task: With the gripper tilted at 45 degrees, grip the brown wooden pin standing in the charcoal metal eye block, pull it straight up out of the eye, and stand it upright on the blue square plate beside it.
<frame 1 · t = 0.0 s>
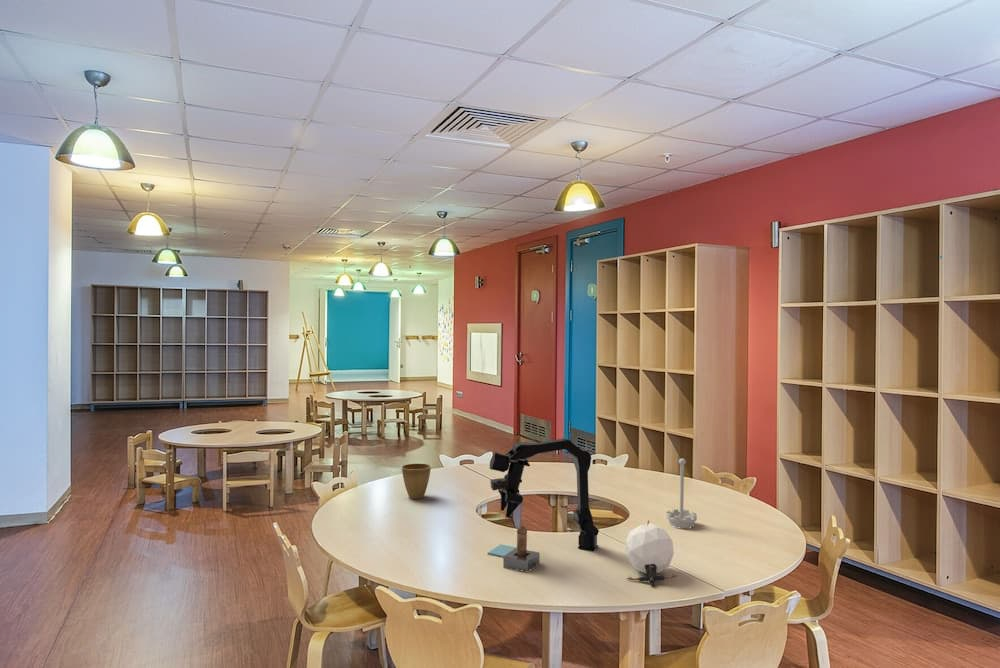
hand: (504, 513, 251), 15 cm above the table, tool pointing down, fingers open, 9 cm apart
white faceted globe lamp: (649, 575, 232), on the table
plant pot: (416, 497, 330), on the table
flag stand: (681, 525, 290), on the table
brown wooden pin: (521, 545, 239), in the eye block
eye block: (521, 565, 239), on the table
blue square plate: (506, 552, 252), on the table
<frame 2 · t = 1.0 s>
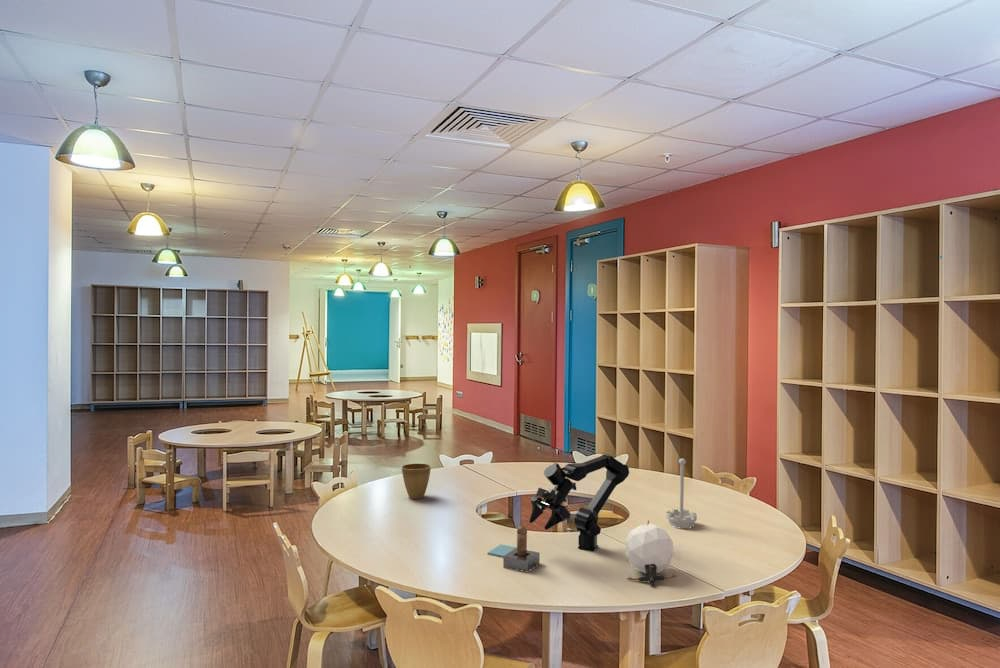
hand: (537, 525, 244), 13 cm above the table, tool tilted 45°, fingers open, 9 cm apart
nothing on the table moved.
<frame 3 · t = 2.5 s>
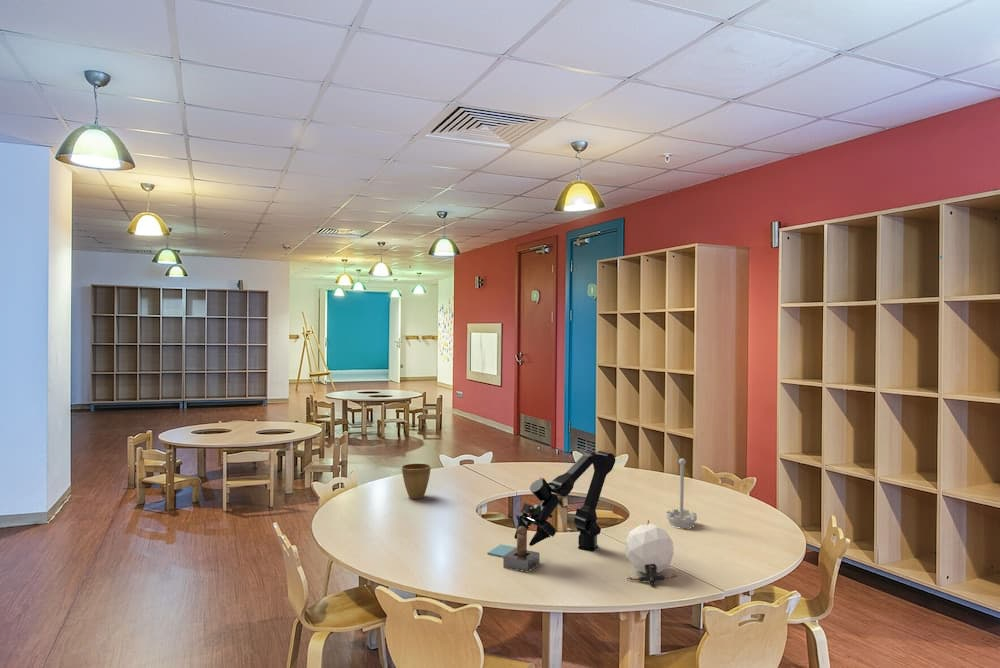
hand: (522, 541, 239), 9 cm above the table, tool tilted 45°, fingers open, 9 cm apart
nothing on the table moved.
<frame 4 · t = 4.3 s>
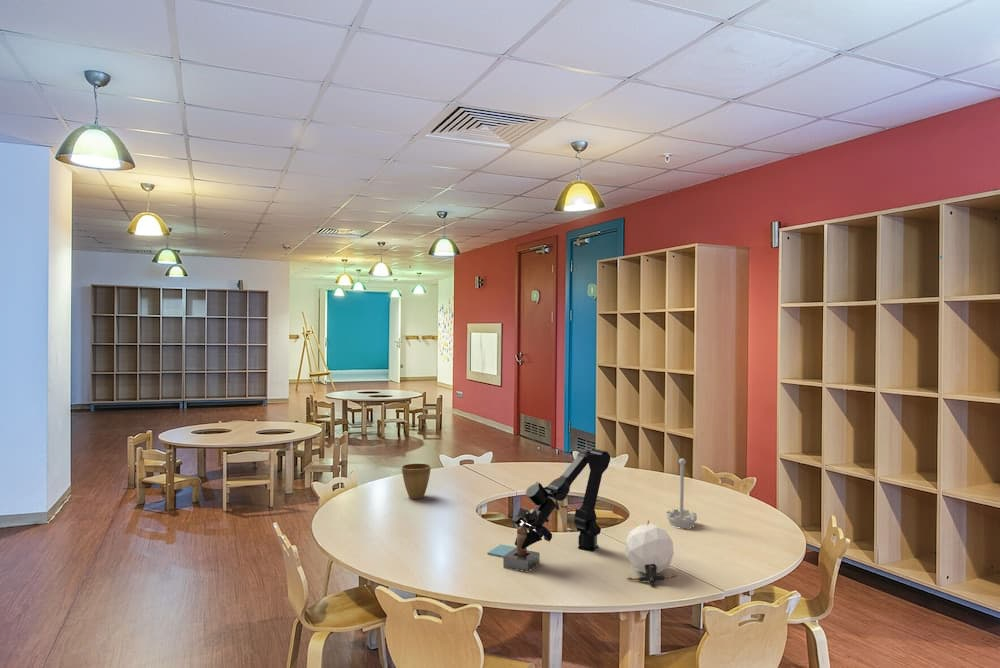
hand: (518, 546, 238), 7 cm above the table, tool tilted 45°, fingers closed on brown wooden pin, 4 cm apart
brown wooden pin: (521, 545, 239), in the eye block, touching gripper
everything else where it was.
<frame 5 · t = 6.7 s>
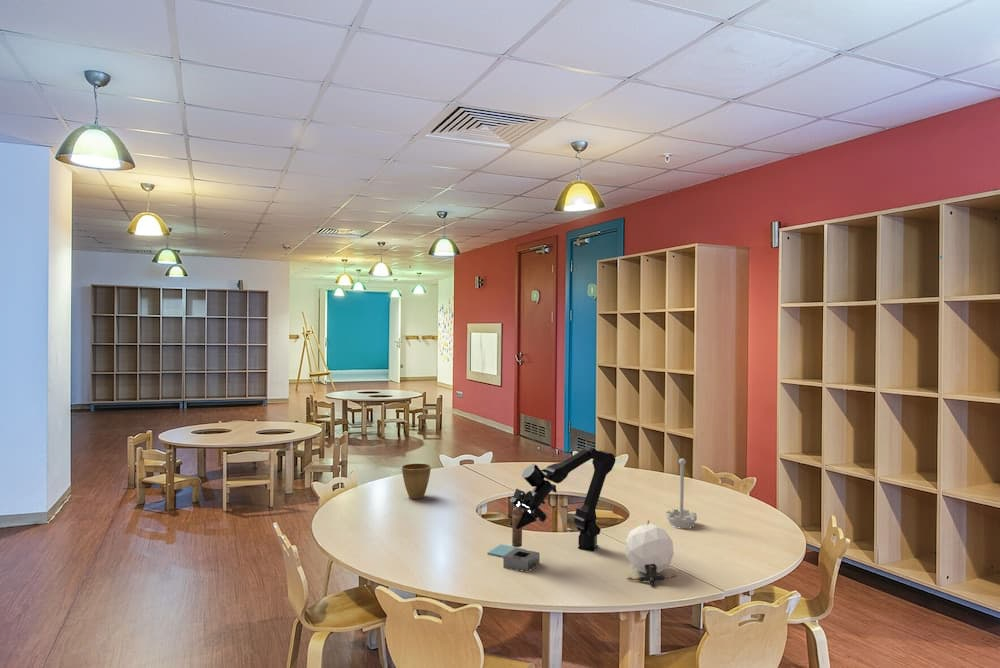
hand: (514, 527, 241), 13 cm above the table, tool tilted 45°, fingers closed on brown wooden pin, 4 cm apart
brown wooden pin: (517, 526, 242), point 14 cm above the table, touching gripper
everything else where it was.
when the fingers open (8 cm above the table, at t = 9.5 s): brown wooden pin stays where it is, resting on blue square plate.
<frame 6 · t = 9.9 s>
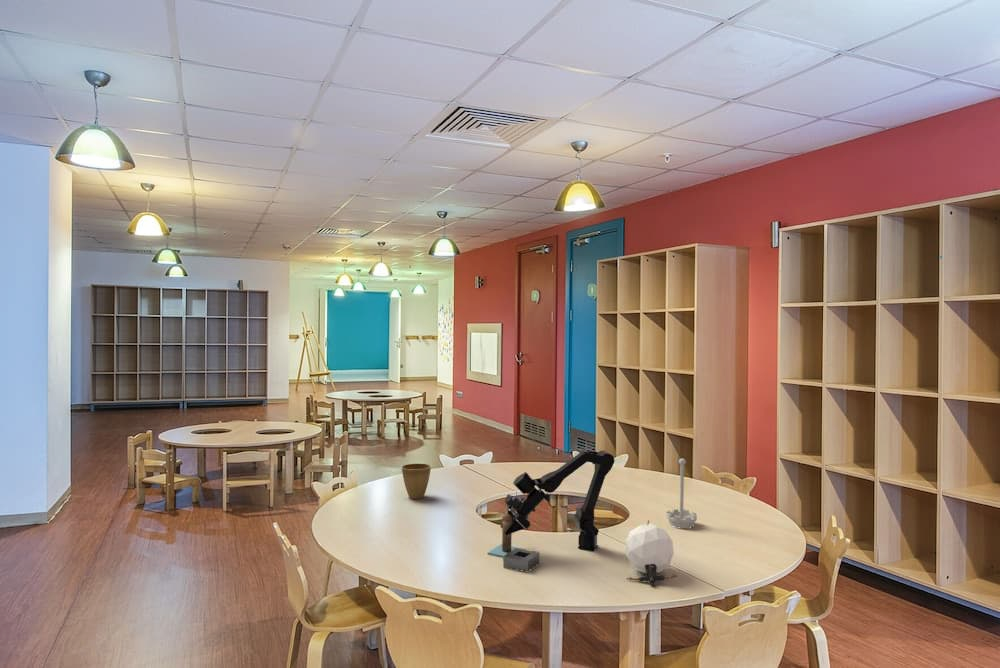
hand: (503, 531, 252), 8 cm above the table, tool tilted 45°, fingers open, 8 cm apart
brown wooden pin: (506, 532, 252), on the blue square plate, point 8 cm above the table
everything else where it was.
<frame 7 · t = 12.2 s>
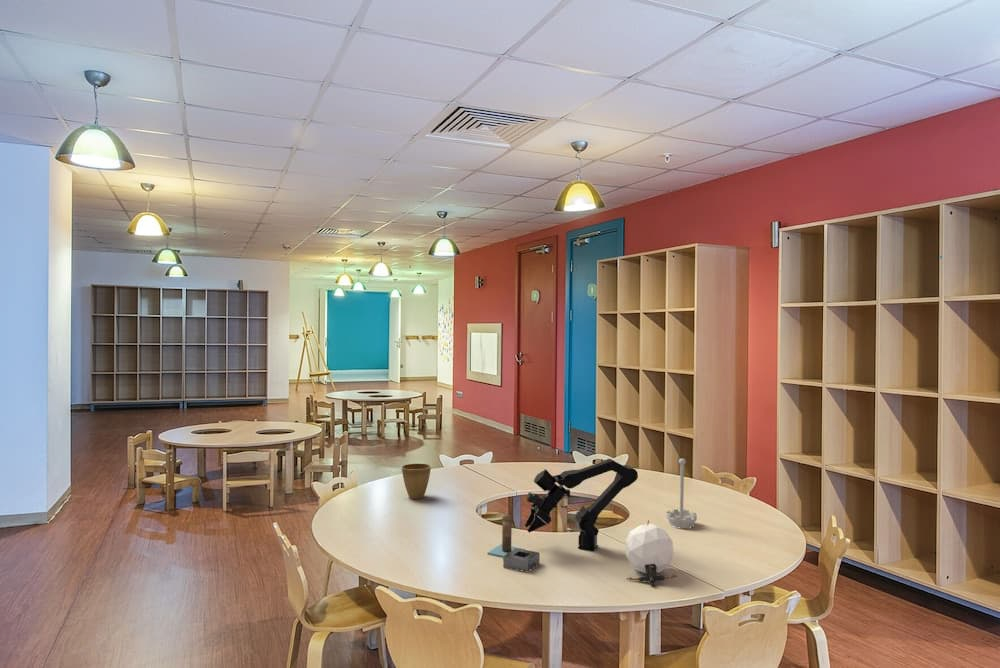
hand: (526, 528, 254), 9 cm above the table, tool tilted 40°, fingers open, 9 cm apart
nothing on the table moved.
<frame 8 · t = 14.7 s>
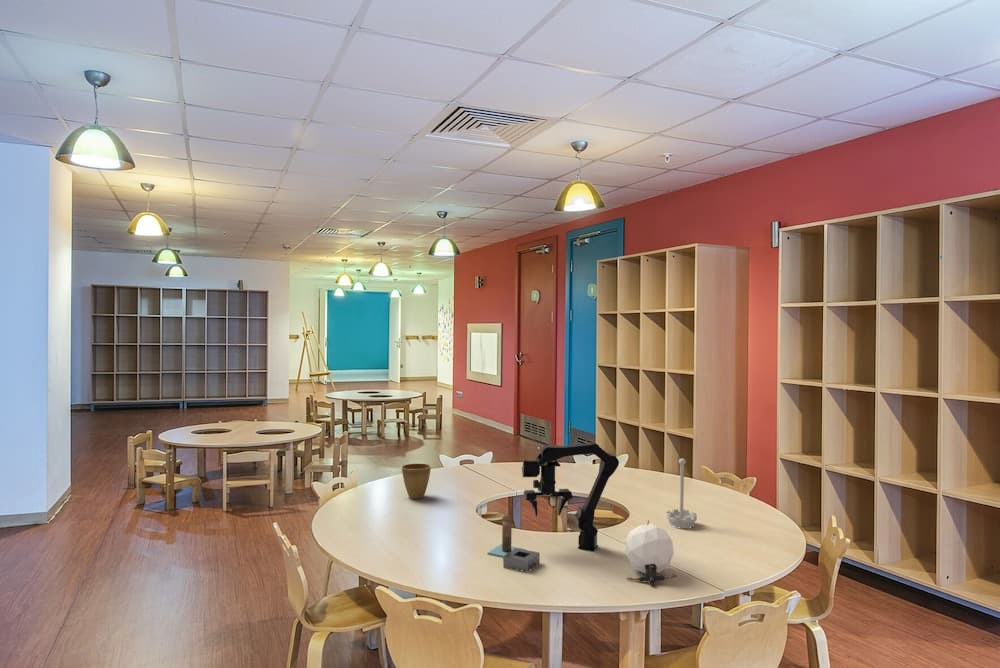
hand: (547, 516, 257), 13 cm above the table, tool pointing down, fingers open, 9 cm apart
nothing on the table moved.
at the end: brown wooden pin inside the target area on the blue square plate (0.0 cm from its centre), point 7.8 cm above the blue square plate's base; brown wooden pin tilted 0°; the gripper is holding nothing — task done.
